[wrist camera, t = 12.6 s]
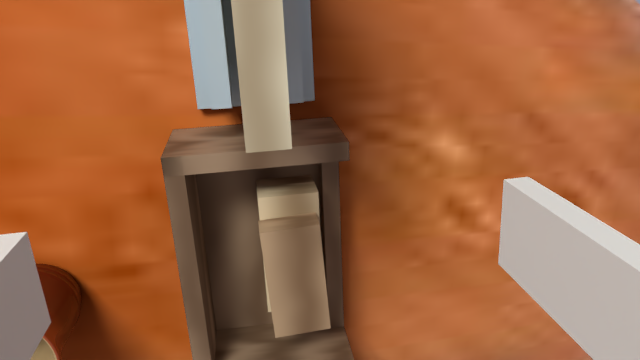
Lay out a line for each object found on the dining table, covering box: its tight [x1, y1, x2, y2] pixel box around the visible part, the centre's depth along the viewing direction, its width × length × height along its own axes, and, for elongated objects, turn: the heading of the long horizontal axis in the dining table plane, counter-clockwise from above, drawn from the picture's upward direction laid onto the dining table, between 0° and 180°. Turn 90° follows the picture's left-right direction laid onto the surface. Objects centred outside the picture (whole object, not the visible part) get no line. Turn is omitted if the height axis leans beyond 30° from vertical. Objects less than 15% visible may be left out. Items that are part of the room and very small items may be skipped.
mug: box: [30, 264, 82, 360], centre depth 45 cm, size 12×9×10 cm
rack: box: [161, 117, 354, 360], centre depth 47 cm, size 14×22×8 cm, turn 2°
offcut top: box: [258, 212, 331, 338], centre depth 44 cm, size 5×10×2 cm, turn 5°
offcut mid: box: [256, 182, 320, 312], centre depth 46 cm, size 5×11×2 cm, turn 2°
